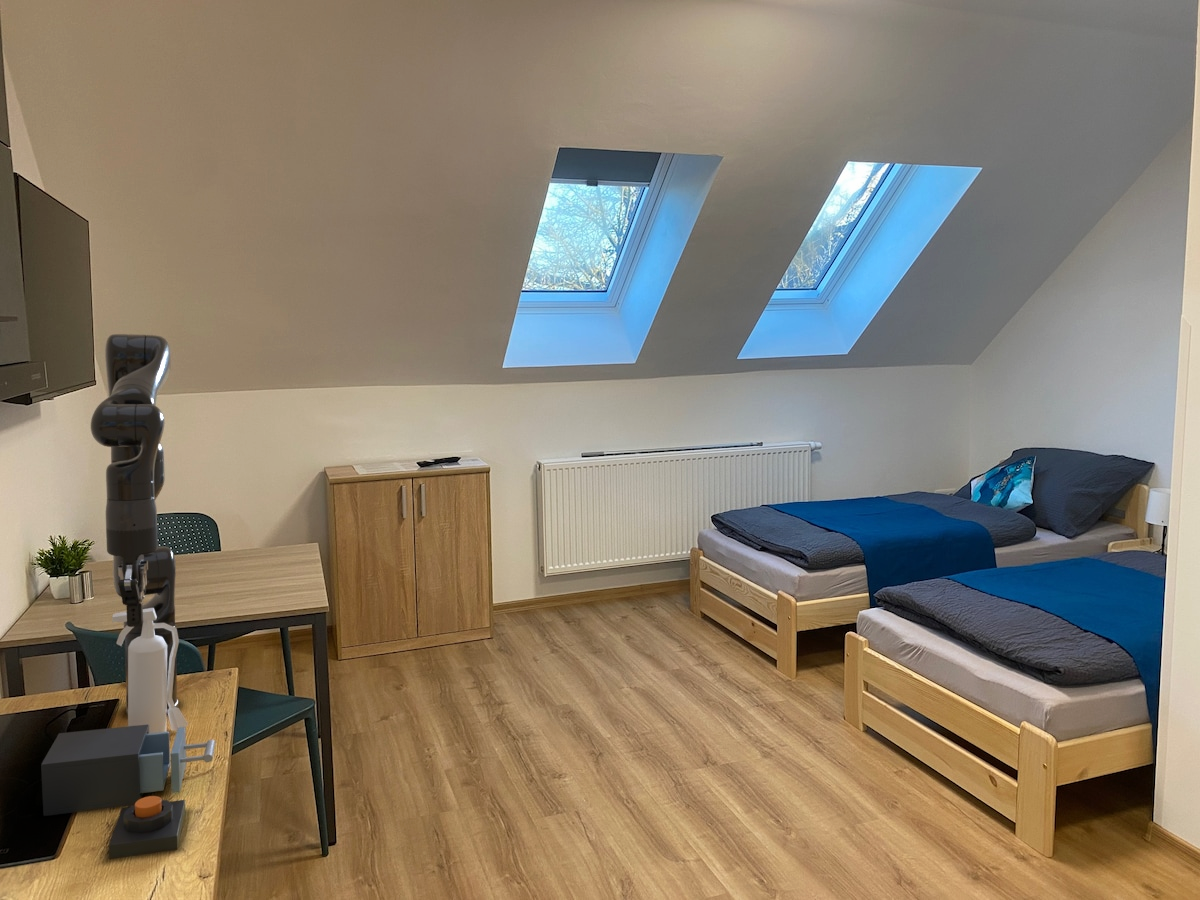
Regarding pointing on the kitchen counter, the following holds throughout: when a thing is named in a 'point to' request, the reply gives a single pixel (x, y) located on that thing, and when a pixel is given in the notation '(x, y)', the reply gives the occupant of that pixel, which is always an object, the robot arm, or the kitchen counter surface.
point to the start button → (148, 806)
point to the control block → (147, 831)
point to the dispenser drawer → (167, 760)
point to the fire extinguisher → (150, 675)
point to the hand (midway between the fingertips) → (135, 625)
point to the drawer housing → (93, 770)
